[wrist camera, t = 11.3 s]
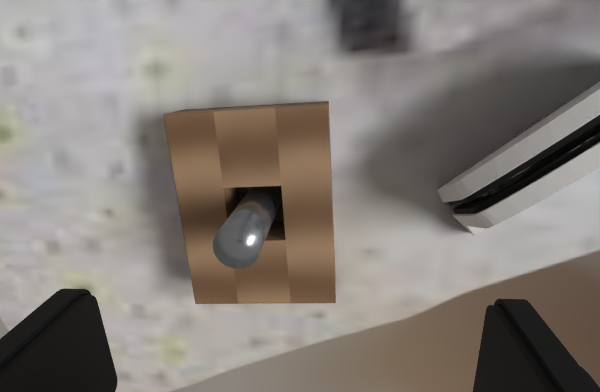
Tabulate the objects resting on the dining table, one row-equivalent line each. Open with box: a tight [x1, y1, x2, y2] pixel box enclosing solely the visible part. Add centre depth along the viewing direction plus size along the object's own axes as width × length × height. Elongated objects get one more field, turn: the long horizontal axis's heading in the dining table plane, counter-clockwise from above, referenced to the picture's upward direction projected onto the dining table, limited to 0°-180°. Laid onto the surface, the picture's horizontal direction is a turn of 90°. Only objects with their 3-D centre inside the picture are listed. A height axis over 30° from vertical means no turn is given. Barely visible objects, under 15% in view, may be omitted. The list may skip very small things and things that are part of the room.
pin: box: [213, 186, 281, 269], centre depth 28 cm, size 3×3×10 cm
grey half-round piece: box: [437, 81, 600, 235], centre depth 26 cm, size 17×5×10 cm, turn 129°
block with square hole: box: [164, 101, 336, 304], centre depth 31 cm, size 16×12×4 cm
